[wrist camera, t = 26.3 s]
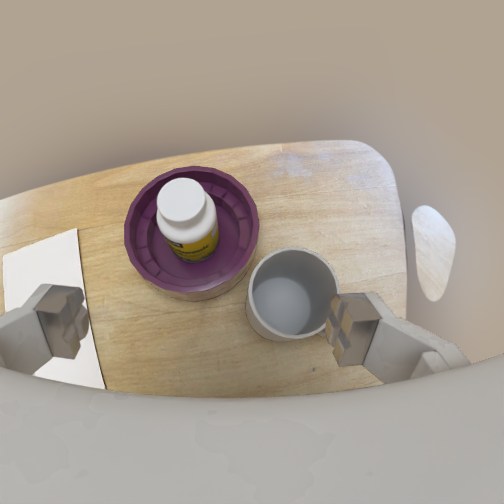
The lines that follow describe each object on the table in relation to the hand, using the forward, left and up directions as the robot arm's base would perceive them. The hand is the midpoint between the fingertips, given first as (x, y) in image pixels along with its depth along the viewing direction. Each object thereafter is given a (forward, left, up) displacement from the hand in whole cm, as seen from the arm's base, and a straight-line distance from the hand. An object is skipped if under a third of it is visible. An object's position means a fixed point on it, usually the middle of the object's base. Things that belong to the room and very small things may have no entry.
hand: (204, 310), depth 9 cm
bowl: (+8, -8, -22) cm, 25 cm away
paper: (+19, +12, -22) cm, 32 cm away
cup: (-5, -5, -22) cm, 24 cm away
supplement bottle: (+8, -8, -22) cm, 25 cm away
